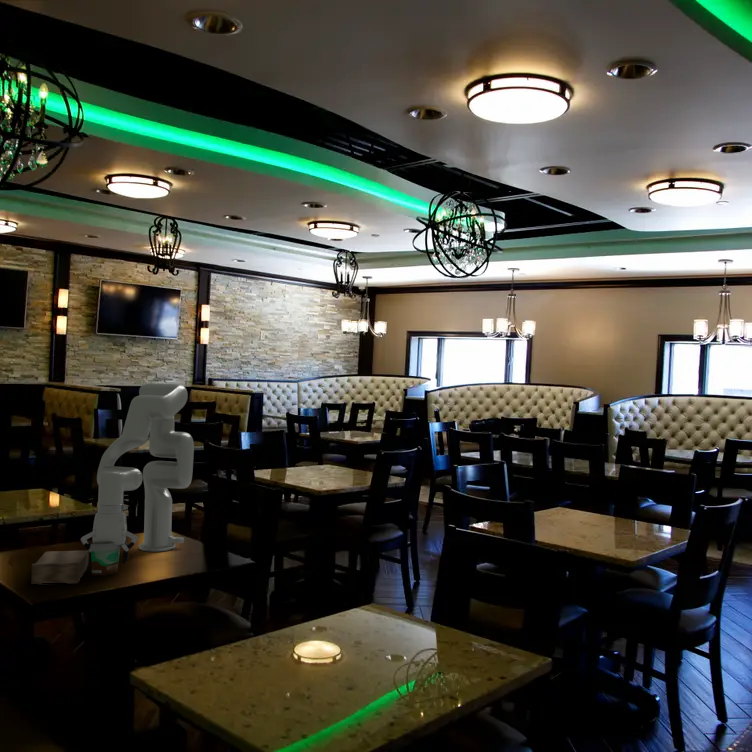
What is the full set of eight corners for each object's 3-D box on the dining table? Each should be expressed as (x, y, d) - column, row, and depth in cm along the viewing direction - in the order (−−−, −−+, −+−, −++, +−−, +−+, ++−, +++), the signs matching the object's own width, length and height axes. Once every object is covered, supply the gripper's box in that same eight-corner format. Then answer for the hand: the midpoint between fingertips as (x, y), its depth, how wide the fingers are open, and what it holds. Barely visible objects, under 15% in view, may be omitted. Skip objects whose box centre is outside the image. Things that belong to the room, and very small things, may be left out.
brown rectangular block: (88, 565, 239) (88, 547, 239) (77, 583, 220) (78, 563, 220) (45, 566, 236) (45, 548, 236) (31, 584, 217) (31, 564, 217)
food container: (105, 578, 226) (106, 546, 226) (88, 576, 227) (89, 544, 227) (129, 568, 238) (130, 537, 238) (113, 566, 239) (114, 536, 239)
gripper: (140, 506, 238) (138, 559, 238) (83, 507, 234) (81, 561, 234) (138, 511, 231) (136, 565, 231) (79, 511, 227) (77, 567, 227)
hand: (108, 563), depth 232 cm, fingers open, 9 cm apart
